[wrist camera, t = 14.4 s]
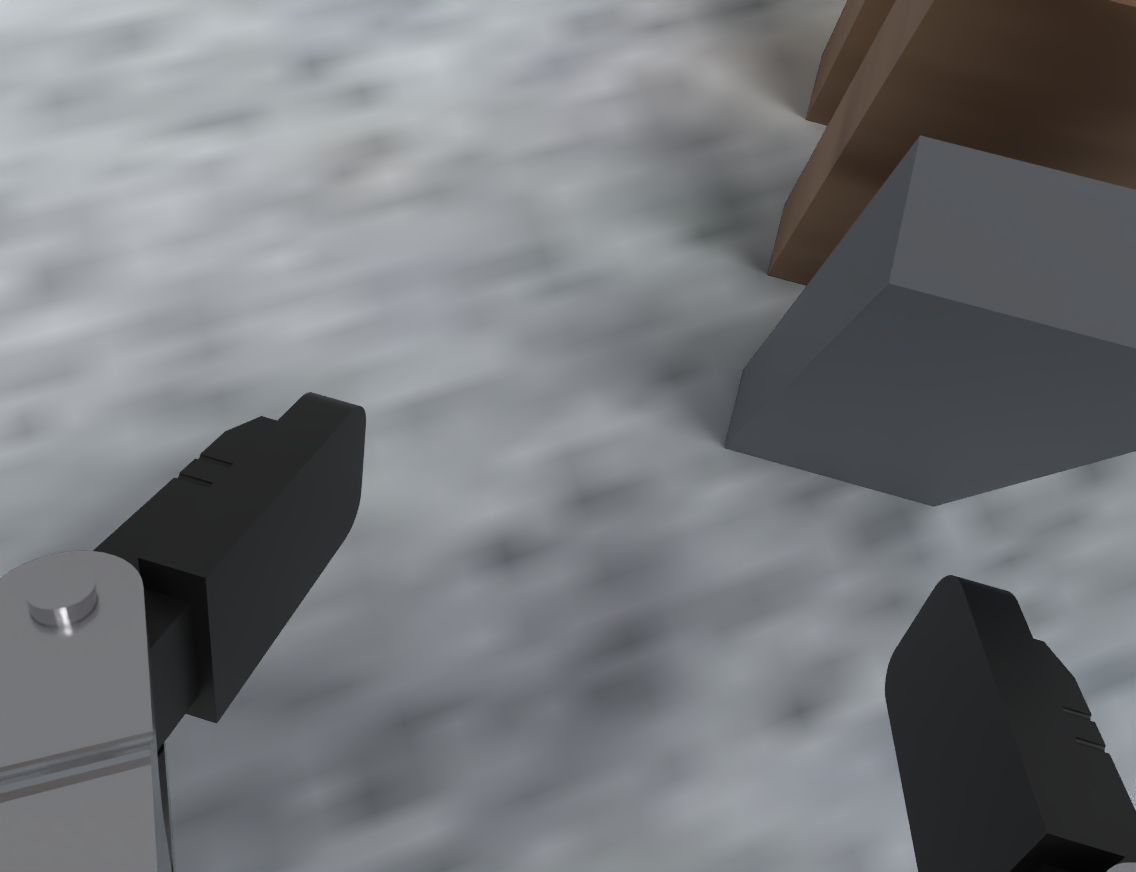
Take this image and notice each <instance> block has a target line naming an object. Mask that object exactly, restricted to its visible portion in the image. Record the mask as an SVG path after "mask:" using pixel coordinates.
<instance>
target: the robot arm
mask: <svg viewBox="0 0 1136 872" xmlns="http://www.w3.org/2000/svg"><path fill="white" fill-rule="evenodd" d="M365 428H366V414H365V410H364V408H363V407H361V406H358V405H354V404H350V403H347V402H343V401H340V400H336V399H333V398H329V397H326V396H322V395H319V394H315V393H312V392H309V393H306V394H305V395H303V396H302V397H301V398H300V399H299V400H298V401H297V402H296V403H295V404H294V405H293V406H292V407H291V408H290V409H289V410H288V411H287V412H286V413H285V414H284V415H283V416H282V417H281V418H280V419H279V420H278V421H277V420H273V419H270V418H266V417H263V416H261V417H258V418H256V419H254V420H251V421H249V422H247V423H244V424H242V425H240V426H237V427H235V428H232V429H230V430H228V431H225V432H224V433H223V434H222V435H221V436H220V437H219V438H218V439H217V440H215V441H214V442H213V443H212V444H211V445H210V446H209V447H208V448H207V449H205V450H204V451H203V452H202V453H201V454H200V458H199V459H194V460H193V461H192V462H191V463H190V464H189V465H188V466H187V467H185V468H184V469H183V470H182V471H181V472H180V473H179V477H178V478H173V479H172V480H171V481H170V482H169V483H168V484H167V485H166V486H164V487H163V488H162V489H161V490H160V491H159V492H158V493H157V494H156V495H154V496H153V497H152V498H151V499H150V500H149V501H148V502H147V503H146V504H144V505H143V506H142V507H141V508H140V509H139V510H138V511H137V512H136V513H134V514H133V515H132V516H131V517H130V518H129V519H128V520H127V521H126V522H124V523H123V524H122V525H121V526H120V527H119V528H118V529H117V530H116V531H115V532H113V533H112V534H111V535H110V536H109V537H108V538H107V539H106V540H105V541H103V542H102V543H101V544H100V545H99V546H98V547H97V548H96V549H94V550H93V551H70V552H62V553H57V554H51V555H48V556H44V557H41V558H38V559H35V560H33V561H30V562H28V563H25V564H23V565H21V566H19V567H17V568H15V569H13V570H12V571H10V572H9V573H7V574H6V575H4V576H3V577H1V578H0V872H176V870H175V857H174V844H173V831H172V818H171V805H170V793H169V780H168V767H167V754H166V745H165V740H166V739H167V738H168V736H169V735H170V734H171V732H172V731H173V730H174V728H175V727H176V726H177V724H178V723H179V721H180V720H181V719H182V717H183V716H184V715H185V714H188V715H192V716H195V717H198V718H201V719H205V720H208V721H211V722H214V723H218V721H219V720H220V718H221V717H222V715H223V714H224V712H225V711H226V710H227V708H228V707H229V705H230V704H231V702H232V701H233V700H234V698H235V697H236V695H237V694H238V692H239V691H240V689H241V688H242V687H243V685H244V684H245V682H246V681H247V679H248V678H249V677H250V675H251V674H252V672H253V671H254V669H255V668H256V666H257V665H258V664H259V662H260V661H261V659H262V658H263V656H264V655H265V654H266V652H267V651H268V649H269V648H270V646H271V645H272V643H273V642H274V641H275V639H276V638H277V636H278V635H279V633H280V632H281V630H282V629H283V628H284V626H285V625H286V623H287V622H288V620H289V619H290V618H291V616H292V615H293V613H294V612H295V610H296V609H297V607H298V606H299V605H300V603H301V602H302V600H303V599H304V597H305V596H306V595H307V593H308V592H309V590H310V589H311V587H312V586H313V584H314V583H315V582H316V580H317V579H318V577H319V576H320V574H321V573H322V572H323V570H324V569H325V567H326V566H327V564H328V563H329V561H330V560H331V559H332V557H333V556H334V554H335V553H336V551H337V550H338V549H339V547H340V546H341V544H342V543H343V541H344V540H345V538H346V537H347V535H348V533H349V531H350V529H351V527H352V525H353V523H354V520H355V517H356V514H357V511H358V508H359V503H360V498H361V487H362V472H363V458H364V443H365ZM885 697H886V703H887V708H888V714H889V719H890V724H891V730H892V735H893V740H894V746H895V751H896V756H897V761H898V767H899V772H900V777H901V783H902V788H903V793H904V799H905V804H906V809H907V814H908V820H909V825H910V830H911V836H912V841H913V846H914V852H915V857H916V862H917V867H918V872H1136V811H1135V809H1134V806H1133V804H1132V802H1131V800H1130V798H1129V795H1128V793H1127V791H1126V789H1125V787H1124V785H1123V782H1122V780H1121V778H1120V776H1119V774H1118V771H1117V769H1116V767H1115V765H1114V763H1113V761H1112V758H1111V756H1110V754H1108V753H1105V751H1104V748H1105V746H1106V745H1105V743H1104V741H1103V739H1102V737H1101V734H1100V732H1099V730H1098V728H1097V726H1096V723H1095V722H1092V721H1090V717H1091V712H1090V710H1089V708H1088V706H1087V704H1086V702H1085V699H1084V697H1083V695H1082V693H1081V691H1080V688H1079V686H1078V684H1077V682H1076V680H1075V678H1074V677H1073V675H1072V674H1071V673H1070V672H1069V671H1068V669H1067V668H1066V667H1065V666H1064V665H1063V664H1062V662H1061V661H1060V660H1059V659H1058V658H1057V657H1056V655H1055V654H1054V653H1053V652H1052V651H1051V649H1050V648H1049V647H1048V646H1047V645H1046V644H1045V642H1043V641H1040V640H1036V639H1033V637H1032V634H1031V632H1030V630H1029V627H1028V625H1027V623H1026V620H1025V618H1024V616H1023V613H1022V611H1021V608H1020V606H1019V604H1018V601H1017V600H1016V598H1015V596H1014V595H1013V594H1012V593H1010V592H1009V591H1006V590H1002V589H999V588H995V587H991V586H988V585H984V584H981V583H977V582H974V581H970V580H967V579H963V578H960V577H956V576H953V575H948V576H946V577H944V578H943V579H941V580H940V581H939V582H938V584H937V585H936V586H935V588H934V589H933V591H932V593H931V594H930V596H929V597H928V599H927V600H926V602H925V604H924V605H923V607H922V608H921V610H920V611H919V613H918V615H917V616H916V618H915V619H914V621H913V622H912V624H911V626H910V627H909V629H908V630H907V632H906V633H905V635H904V636H903V638H902V640H901V641H900V643H899V644H898V646H897V647H896V649H895V651H894V653H893V655H892V657H891V659H890V662H889V665H888V669H887V674H886V681H885Z"/></svg>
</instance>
